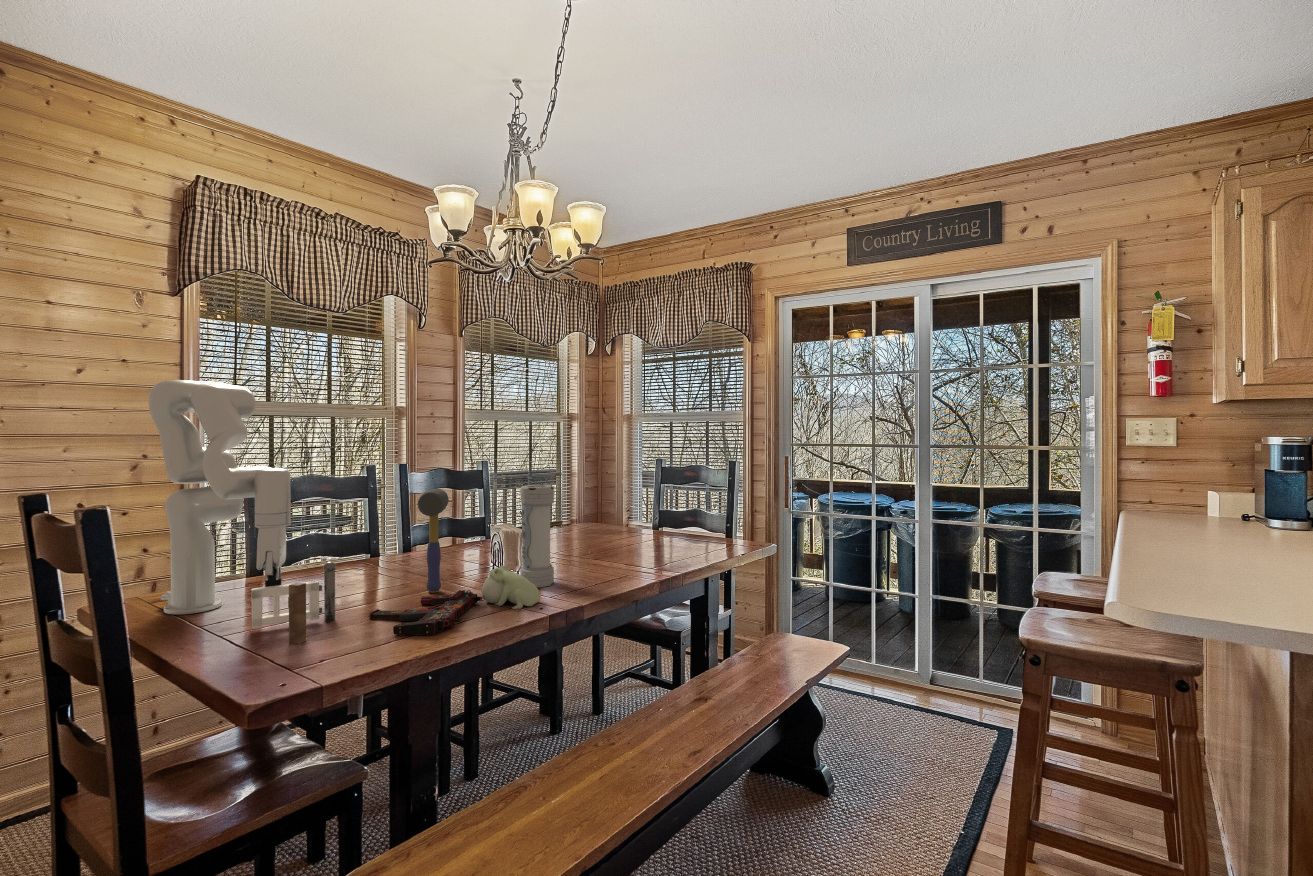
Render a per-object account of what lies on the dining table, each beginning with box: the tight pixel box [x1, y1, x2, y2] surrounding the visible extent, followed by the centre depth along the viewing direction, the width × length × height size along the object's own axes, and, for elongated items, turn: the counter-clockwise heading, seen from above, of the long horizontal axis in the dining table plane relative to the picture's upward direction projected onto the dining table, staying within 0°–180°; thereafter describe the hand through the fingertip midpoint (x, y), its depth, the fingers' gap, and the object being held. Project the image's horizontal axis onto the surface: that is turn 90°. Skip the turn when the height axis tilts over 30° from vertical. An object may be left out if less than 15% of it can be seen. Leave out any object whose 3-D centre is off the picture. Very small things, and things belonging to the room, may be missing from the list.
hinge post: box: [322, 561, 337, 623], centre depth 165 cm, size 3×3×15 cm
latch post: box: [287, 582, 307, 645], centre depth 148 cm, size 3×2×13 cm
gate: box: [250, 580, 323, 630], centre depth 160 cm, size 2×15×9 cm, turn 125°
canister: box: [520, 484, 555, 589], centre depth 204 cm, size 10×10×30 cm
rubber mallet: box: [417, 488, 450, 593], centre depth 193 cm, size 12×8×30 cm, turn 9°
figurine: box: [481, 565, 541, 610], centre depth 182 cm, size 10×16×10 cm, turn 75°
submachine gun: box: [369, 589, 485, 636], centre depth 171 cm, size 34×4×25 cm
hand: (273, 595), depth 161 cm, fingers closed
